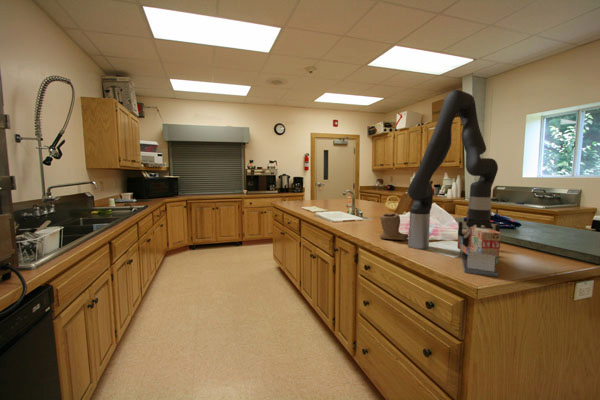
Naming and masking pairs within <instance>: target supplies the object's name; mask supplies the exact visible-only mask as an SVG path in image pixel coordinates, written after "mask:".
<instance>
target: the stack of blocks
mask: <svg viewBox="0 0 600 400" xmlns="http://www.w3.org/2000/svg"><path fill="white" fill-rule="evenodd" d="M467 227H468V226H467ZM470 228H471V234H469V235H468V237H467V247H465V245H463V237H462V236H459V234H458V233H457V249H458V250H459V249H460V250H461V251H463V252H464V253H465V254H467V255H468V251H476V252H485V253H494V254H495V265H496V266H497V265H499V260H500V248H501V237H502V236H501V235H502V232H501V231H499V232H497V231H496V230H495V229H493V228H491V227H490V228H480V227H470ZM467 230H469V227H468V229H467V228H462V233H463V234H464V233H465V232H466V231H467ZM460 250H459V251H460Z"/></svg>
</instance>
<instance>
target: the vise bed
mask: <svg viewBox="0 0 600 400" xmlns="http://www.w3.org/2000/svg"><path fill="white" fill-rule="evenodd" d="M459 254H460V258H461V262H462V268H463V272H464V273H465V274H472V275H477V276H478V275H480V276H486V277H493V278H499V272H498V270H497V269H496V267H495V266H496V264H495V254H494V253H485V252H476V251H468V255H467V254H465V253H464V252H463V251H461V250H459Z"/></svg>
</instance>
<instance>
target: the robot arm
mask: <svg viewBox="0 0 600 400" xmlns="http://www.w3.org/2000/svg"><path fill="white" fill-rule="evenodd" d="M456 116H458V118H459V119H460V121H461V124H462V131H461V142H462V144H463V148H464V151H465V167H466V172H467V173H468V174H469V175H471V176H473V177H479V178H478V180H476V181H475V182H474V181H473V182H472V183H471V184H470V186H469V187H470V188H469V199H468V205H467V206H468V209H467V210H468V211H467V219H468V220H467V219H466V221H461V220H459V221H458V228H457V235H458V234H459V236H462V237H463V245H465V247H467V237H468V235H469V234H471V228H470V227H480V228H490V229H491V227H492V229H493V230H496V231H497V232H501V229H500V228H501V226H500V224H499V223H491V215H492V214H491V212H492V187H493V184H494V182H495V180H496V177H497V174H498V170H499V167H498V162H497V161H496V159H493V158H490V157H489V158H488V157H487V158H486V157H481V155H483V154H484V153H485V152H486V151H487V145H486V143H485V140H484V138H483V135H482V131H481V128H480V125H479V120H478V113H477V107H476V101H475V98H474V96H473V95H472V94H470V93H468V92H465V91H462V90H459V89H454V90H452V91H450V92H449V93H447V95H446V96H445V98H444V100H443V103H442V106H441V109H440V112H439V116H438V119H437V121H436V125H435V127H434V129H433V132H432V135H431V138H430V139H429V141H428V144H427V147H426V149H425V151H424V154H423V156H422V159H421V161H420V164H419V166H418V169H417V171H416V172H415V175H414V176H413V179H412V180H411V182H410V184H409V186H408V188H407V193H408V196H409V198H410V199H412V200H413V202H412V204H411V206H410V207H409V224H408V225H409V226H408V227H409V228H408V235H409V236H408V238H407V241H408V242H407V244H408V245H407V246H408V248H409V247H410V248H412V249H418V250H424V249H426V250H427V249H429V248H430V247H429V246H430V245H429V244H430V224H431V223H430V221H431V219H430V217H431V210H432V206H433V198H434V197H433V196H434V189H433V186H432V184H431V183H430V181H431V179H432V177H433V175H434V174H435V172H436V171H437V170H438V168H439V167H440V166H441V165H443V162H444V161H445V159H446V158H447V156H448V153H449V151H450V148H451V147H452V125H453V122H454V120H455V117H456ZM465 226H467V227H469V230H467V231H466V232H465V233H464V234H463V233H462V229H463V228H464V227H465Z"/></svg>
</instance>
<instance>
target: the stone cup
mask: <svg viewBox="0 0 600 400" xmlns="http://www.w3.org/2000/svg"><path fill="white" fill-rule="evenodd" d="M380 225H381V228H382V231H383V233H380V234H379V238H380V239H384V240H393V241H406V240H408V235H409V233H403V232H400V225H401V217H400V214H399V213H395V212H391V213H384V214H382V215H380Z"/></svg>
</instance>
